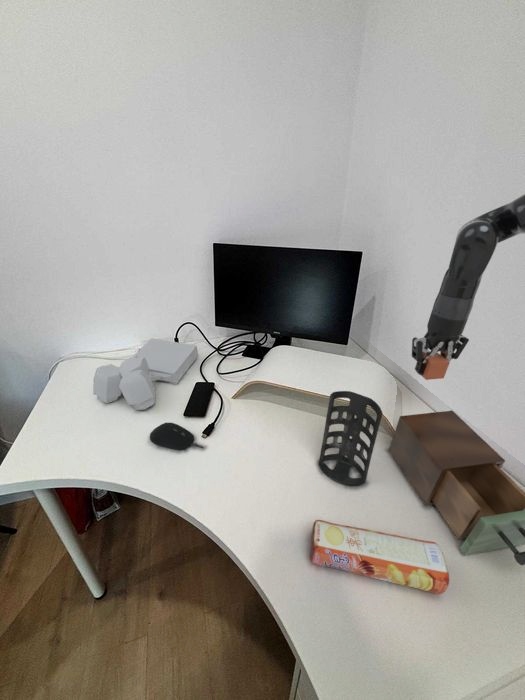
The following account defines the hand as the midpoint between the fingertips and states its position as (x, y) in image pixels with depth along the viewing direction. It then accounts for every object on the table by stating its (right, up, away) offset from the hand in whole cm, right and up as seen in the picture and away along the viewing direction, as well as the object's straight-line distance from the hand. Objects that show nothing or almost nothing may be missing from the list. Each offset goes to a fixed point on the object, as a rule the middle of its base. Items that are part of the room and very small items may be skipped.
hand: (429, 372), depth 77 cm
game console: (-81, -4, +22) cm, 84 cm away
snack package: (-25, -32, -25) cm, 48 cm away
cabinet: (-4, -23, -9) cm, 25 cm away
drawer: (-2, -28, -20) cm, 35 cm away
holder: (-25, -22, -8) cm, 35 cm away
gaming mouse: (-66, -18, -1) cm, 68 cm away
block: (0, 0, 0) cm, 0 cm away
